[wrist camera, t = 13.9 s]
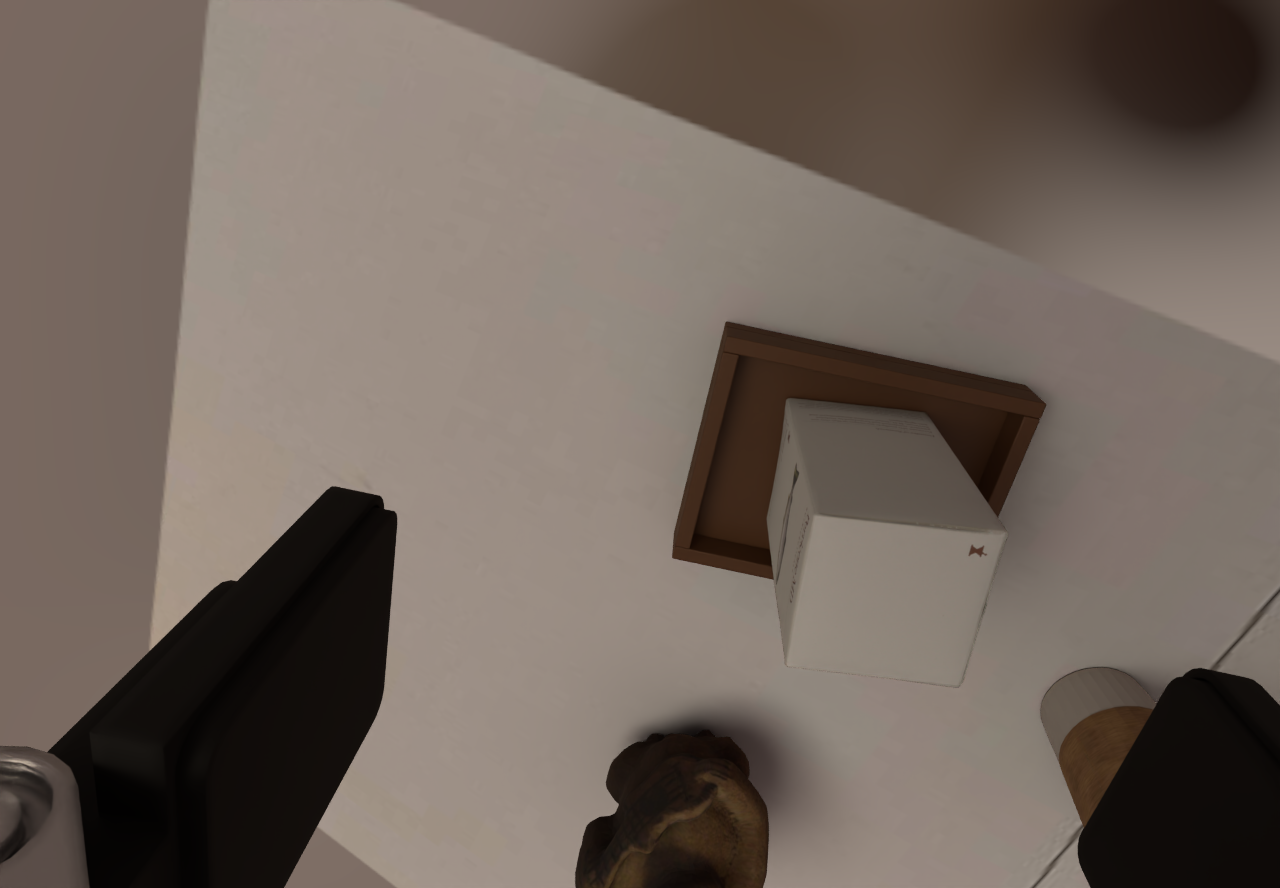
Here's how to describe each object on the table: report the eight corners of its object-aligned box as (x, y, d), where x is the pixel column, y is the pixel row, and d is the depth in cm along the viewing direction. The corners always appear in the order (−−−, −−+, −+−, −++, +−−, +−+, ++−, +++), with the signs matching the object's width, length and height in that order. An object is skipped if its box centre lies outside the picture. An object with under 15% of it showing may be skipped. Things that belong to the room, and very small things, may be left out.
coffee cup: (1038, 641, 47) (1177, 867, 33) (1187, 657, 46) (1391, 892, 32) (1002, 752, 50) (1114, 999, 36) (1141, 768, 49) (1307, 1024, 36)
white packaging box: (783, 393, 41) (813, 508, 29) (930, 410, 41) (1018, 532, 29) (761, 520, 44) (780, 670, 32) (897, 536, 43) (966, 693, 32)
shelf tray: (725, 321, 41) (726, 335, 38) (1026, 385, 41) (1047, 404, 38) (673, 533, 46) (671, 558, 43) (941, 589, 46) (955, 618, 43)
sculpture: (753, 684, 45) (791, 1010, 36) (758, 742, 53) (790, 1019, 44) (568, 698, 46) (559, 1019, 37) (601, 754, 55) (601, 1026, 45)
